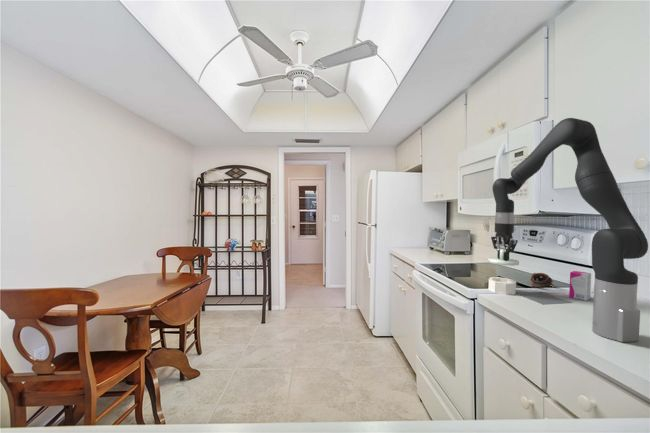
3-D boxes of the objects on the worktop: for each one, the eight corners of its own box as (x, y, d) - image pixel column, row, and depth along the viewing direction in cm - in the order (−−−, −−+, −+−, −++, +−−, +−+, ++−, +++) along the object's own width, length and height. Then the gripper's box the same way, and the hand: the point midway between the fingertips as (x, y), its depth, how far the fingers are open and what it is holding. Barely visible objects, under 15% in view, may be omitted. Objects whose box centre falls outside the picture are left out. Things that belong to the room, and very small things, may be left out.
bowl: (521, 295, 125) (522, 283, 125) (500, 296, 124) (500, 284, 123) (503, 287, 136) (503, 276, 135) (483, 288, 134) (483, 277, 134)
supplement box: (590, 299, 120) (591, 272, 119) (586, 302, 116) (587, 274, 116) (573, 295, 124) (574, 270, 124) (568, 298, 121) (569, 272, 120)
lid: (525, 265, 124) (526, 251, 124) (501, 265, 122) (501, 251, 122) (504, 259, 136) (505, 246, 135) (482, 260, 134) (482, 247, 134)
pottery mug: (561, 292, 131) (556, 278, 129) (540, 299, 133) (535, 286, 131) (543, 278, 143) (538, 265, 141) (524, 286, 144) (519, 273, 142)
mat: (573, 303, 114) (573, 302, 114) (542, 305, 112) (542, 304, 112) (542, 292, 128) (542, 291, 128) (514, 294, 126) (514, 293, 126)
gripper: (524, 223, 122) (523, 262, 122) (500, 221, 135) (499, 256, 136) (508, 223, 121) (507, 263, 121) (486, 221, 134) (484, 257, 135)
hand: (503, 259), depth 129 cm, fingers closed on lid, 2 cm apart
